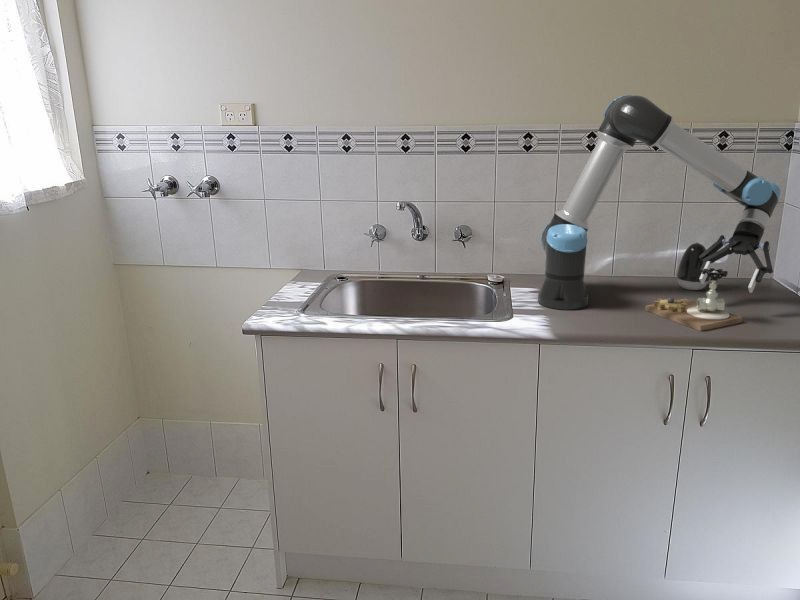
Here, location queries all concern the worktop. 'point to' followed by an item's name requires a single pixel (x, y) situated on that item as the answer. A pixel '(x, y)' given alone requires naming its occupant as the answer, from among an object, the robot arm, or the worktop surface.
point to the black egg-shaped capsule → (691, 268)
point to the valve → (712, 292)
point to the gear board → (691, 314)
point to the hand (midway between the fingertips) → (725, 285)
